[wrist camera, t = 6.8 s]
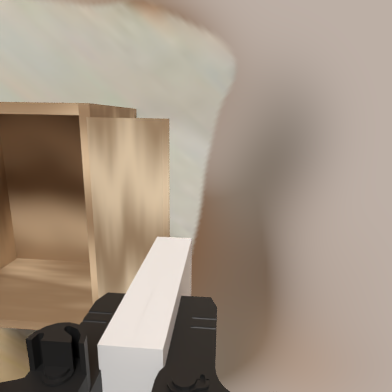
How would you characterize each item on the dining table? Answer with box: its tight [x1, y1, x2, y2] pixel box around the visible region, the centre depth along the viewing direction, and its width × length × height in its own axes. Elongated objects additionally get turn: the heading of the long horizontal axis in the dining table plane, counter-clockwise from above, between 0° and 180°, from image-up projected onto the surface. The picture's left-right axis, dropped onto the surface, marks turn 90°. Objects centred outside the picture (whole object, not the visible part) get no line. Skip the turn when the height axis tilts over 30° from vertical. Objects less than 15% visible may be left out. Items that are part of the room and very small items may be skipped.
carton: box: [0, 102, 136, 330], centre depth 22 cm, size 14×12×9 cm
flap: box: [86, 117, 170, 298], centre depth 16 cm, size 13×1×6 cm
